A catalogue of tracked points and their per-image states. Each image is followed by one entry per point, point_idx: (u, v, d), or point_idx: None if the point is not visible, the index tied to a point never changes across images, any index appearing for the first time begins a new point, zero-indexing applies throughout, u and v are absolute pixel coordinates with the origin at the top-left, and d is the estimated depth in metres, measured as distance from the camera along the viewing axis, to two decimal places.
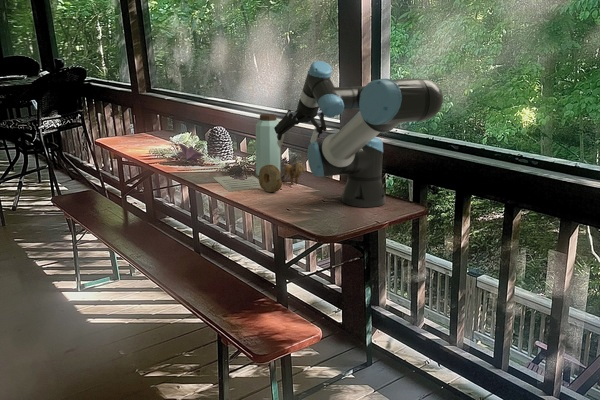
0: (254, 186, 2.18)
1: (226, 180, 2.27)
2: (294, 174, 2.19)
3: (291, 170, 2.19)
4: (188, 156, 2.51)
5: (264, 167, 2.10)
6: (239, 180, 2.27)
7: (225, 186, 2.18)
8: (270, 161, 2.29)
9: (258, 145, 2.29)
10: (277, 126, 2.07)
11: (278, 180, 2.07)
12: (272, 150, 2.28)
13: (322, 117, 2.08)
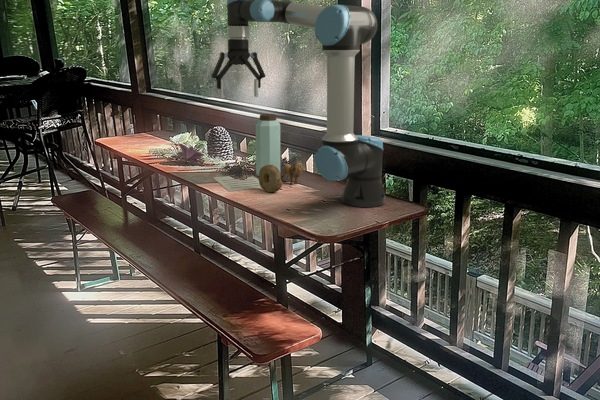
0: (254, 186, 2.18)
1: (226, 180, 2.27)
2: (294, 174, 2.19)
3: (291, 170, 2.20)
4: (188, 156, 2.51)
5: (264, 167, 2.10)
6: (239, 180, 2.27)
7: (225, 186, 2.18)
8: (270, 161, 2.29)
9: (258, 145, 2.29)
10: (213, 72, 2.10)
11: (278, 180, 2.07)
12: (272, 150, 2.28)
13: (256, 58, 2.13)
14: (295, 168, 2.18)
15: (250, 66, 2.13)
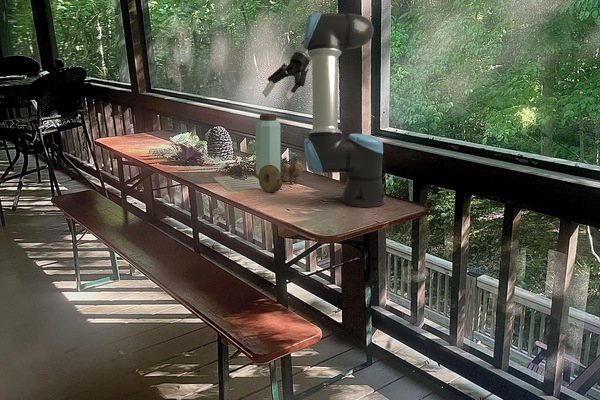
0: (254, 186, 2.18)
1: (226, 180, 2.27)
2: (293, 173, 2.20)
3: (290, 169, 2.20)
4: (188, 156, 2.52)
5: (264, 167, 2.10)
6: (239, 180, 2.27)
7: (225, 186, 2.18)
8: (270, 161, 2.29)
9: (258, 145, 2.29)
10: None
11: (278, 180, 2.07)
12: (272, 150, 2.28)
13: (302, 68, 2.33)
14: (295, 168, 2.19)
15: (295, 74, 2.34)
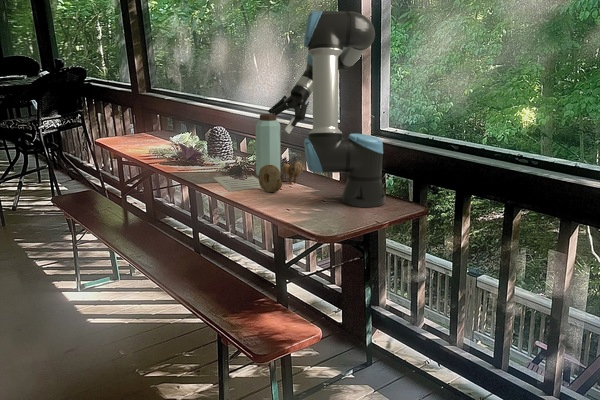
0: (254, 186, 2.18)
1: (226, 180, 2.27)
2: (293, 173, 2.20)
3: (290, 169, 2.21)
4: (188, 156, 2.52)
5: (264, 167, 2.10)
6: (239, 180, 2.27)
7: (225, 186, 2.18)
8: (270, 161, 2.29)
9: (258, 145, 2.29)
10: None
11: (278, 180, 2.07)
12: (272, 150, 2.28)
13: (303, 102, 2.33)
14: (294, 167, 2.19)
15: (295, 107, 2.33)
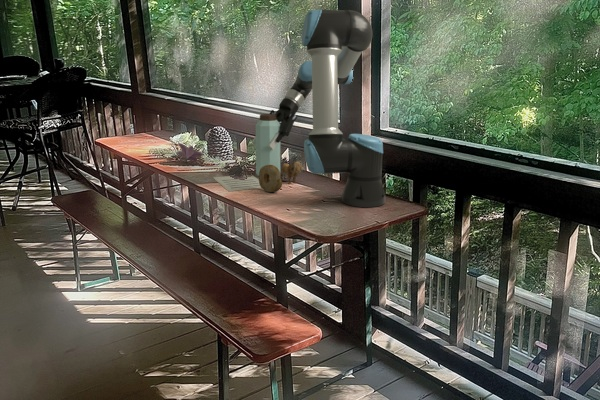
0: (254, 186, 2.18)
1: (226, 180, 2.27)
2: (292, 173, 2.21)
3: (289, 169, 2.21)
4: (188, 156, 2.52)
5: (264, 167, 2.10)
6: (239, 180, 2.27)
7: (225, 186, 2.18)
8: (270, 161, 2.29)
9: (258, 145, 2.29)
10: None
11: (278, 180, 2.07)
12: (272, 150, 2.28)
13: (290, 117, 2.29)
14: (293, 167, 2.20)
15: (282, 121, 2.30)
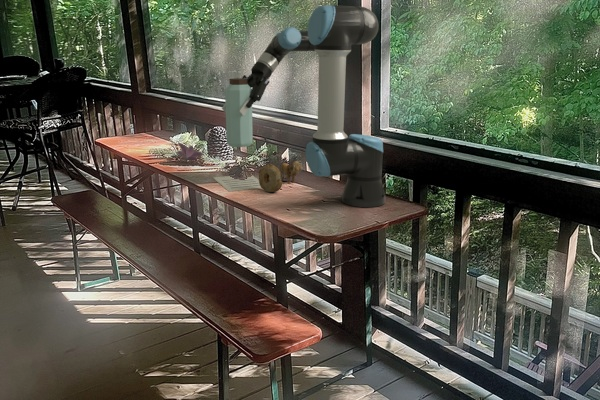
0: (254, 186, 2.18)
1: (226, 180, 2.27)
2: (291, 172, 2.21)
3: (288, 168, 2.22)
4: (188, 155, 2.53)
5: (264, 167, 2.10)
6: (239, 180, 2.27)
7: (225, 186, 2.18)
8: (241, 128, 2.14)
9: (228, 111, 2.14)
10: None
11: (278, 180, 2.07)
12: (243, 116, 2.14)
13: (262, 81, 2.14)
14: (293, 167, 2.20)
15: (253, 86, 2.15)
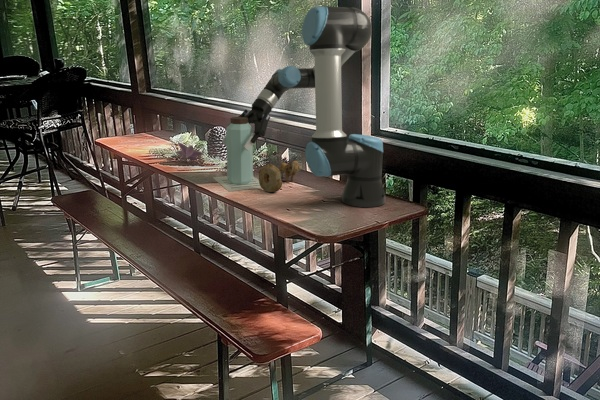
0: (254, 186, 2.18)
1: (226, 180, 2.27)
2: (290, 172, 2.22)
3: (287, 168, 2.23)
4: (188, 155, 2.53)
5: (264, 167, 2.10)
6: None
7: (225, 186, 2.18)
8: (241, 166, 2.18)
9: (229, 149, 2.18)
10: None
11: (278, 180, 2.07)
12: (243, 155, 2.17)
13: (263, 117, 2.18)
14: (291, 166, 2.21)
15: (256, 122, 2.19)
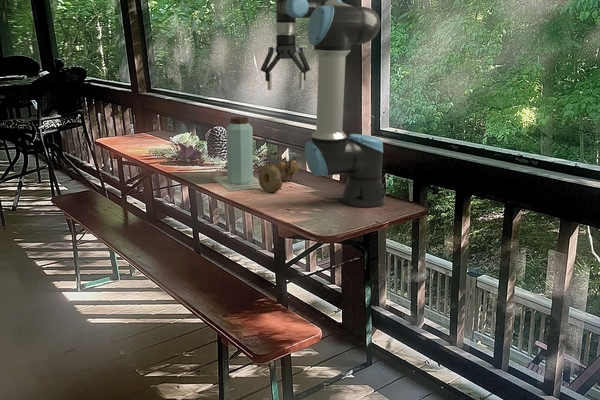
0: (254, 186, 2.18)
1: (226, 180, 2.27)
2: (289, 171, 2.23)
3: (286, 167, 2.24)
4: (187, 155, 2.54)
5: (264, 167, 2.10)
6: None
7: (225, 186, 2.18)
8: (241, 166, 2.18)
9: (229, 149, 2.18)
10: (263, 65, 2.24)
11: (278, 180, 2.07)
12: (243, 155, 2.17)
13: (302, 52, 2.27)
14: (290, 166, 2.22)
15: (296, 60, 2.27)
